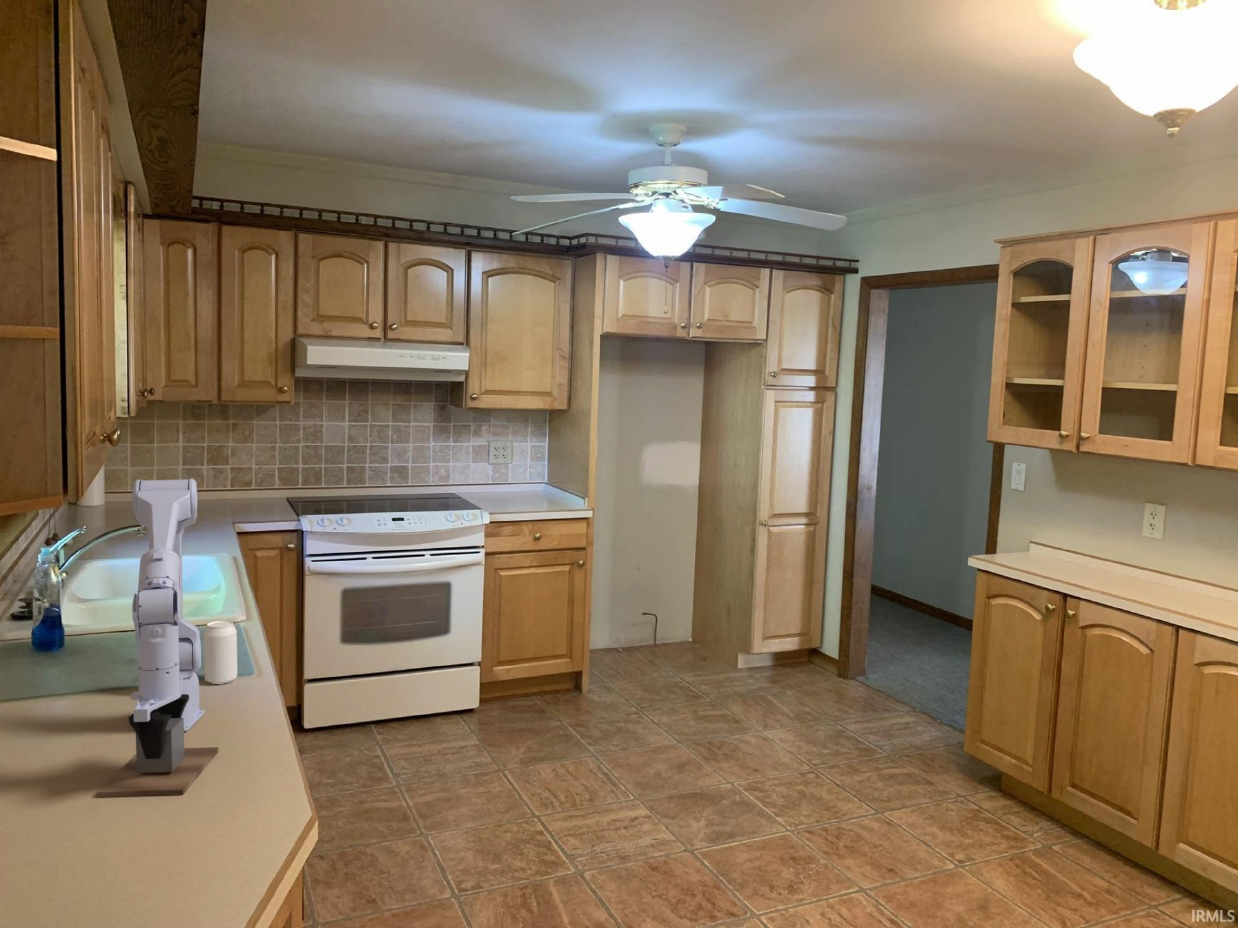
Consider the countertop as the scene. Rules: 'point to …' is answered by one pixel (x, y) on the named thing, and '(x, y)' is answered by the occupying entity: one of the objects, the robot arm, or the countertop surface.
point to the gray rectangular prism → (164, 750)
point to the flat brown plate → (159, 776)
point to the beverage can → (220, 652)
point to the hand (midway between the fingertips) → (161, 750)
